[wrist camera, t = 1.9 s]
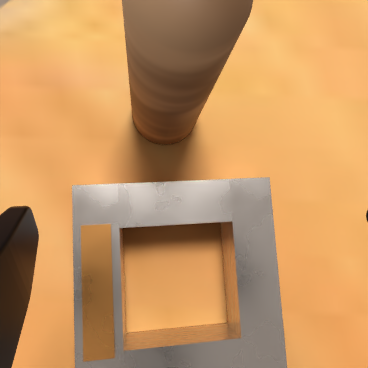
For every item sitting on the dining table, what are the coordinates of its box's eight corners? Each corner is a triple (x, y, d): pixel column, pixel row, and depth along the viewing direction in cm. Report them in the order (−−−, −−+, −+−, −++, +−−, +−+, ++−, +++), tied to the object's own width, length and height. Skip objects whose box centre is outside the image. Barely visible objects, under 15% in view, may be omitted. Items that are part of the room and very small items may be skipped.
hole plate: (268, 359, 21) (289, 382, 18) (85, 380, 20) (74, 409, 17) (252, 184, 23) (270, 176, 20) (81, 191, 21) (71, 184, 18)
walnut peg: (147, 154, 22) (152, 68, 10) (122, 95, 22) (99, -52, 11) (205, 131, 23) (273, 27, 11) (181, 74, 23) (221, -85, 11)
